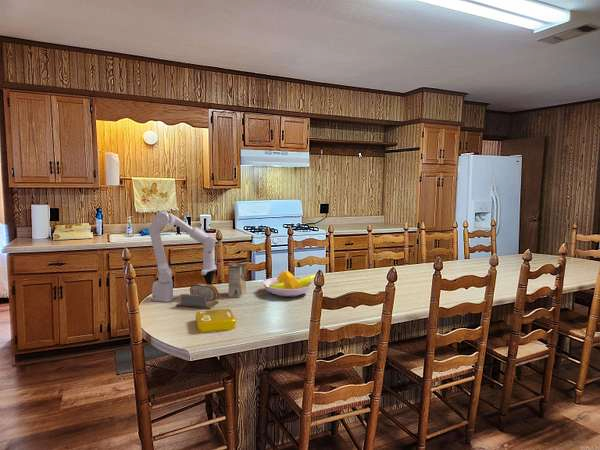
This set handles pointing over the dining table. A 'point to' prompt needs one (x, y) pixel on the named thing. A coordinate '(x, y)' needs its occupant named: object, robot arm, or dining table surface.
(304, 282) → the fruit bowl
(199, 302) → the bookend
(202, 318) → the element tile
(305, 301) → the dining table surface
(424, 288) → the dining table surface
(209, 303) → the shelf board
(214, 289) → the tin
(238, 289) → the coffee box
